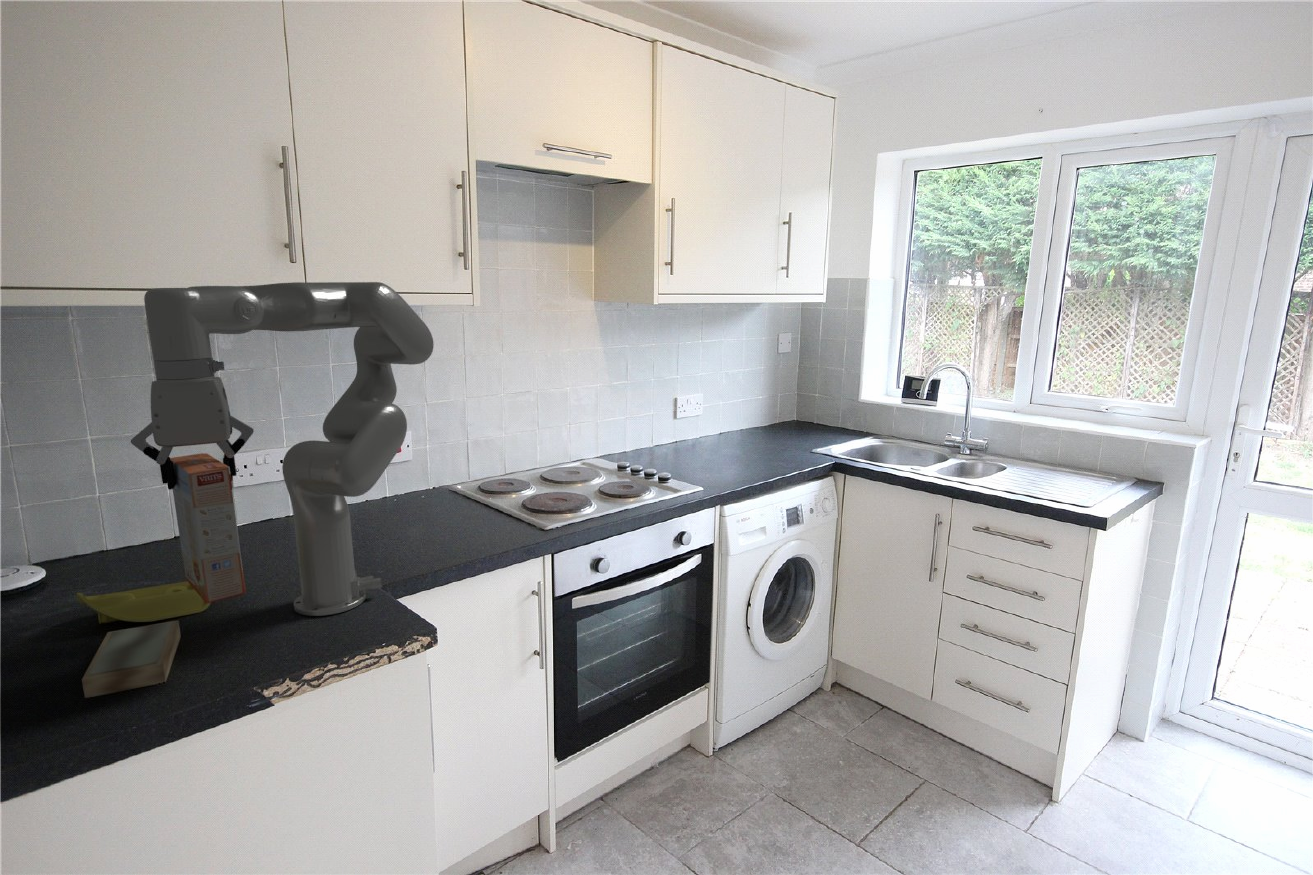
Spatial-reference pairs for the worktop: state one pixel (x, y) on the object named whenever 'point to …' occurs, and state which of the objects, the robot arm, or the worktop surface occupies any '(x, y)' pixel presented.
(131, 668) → the stand
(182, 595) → the plastic component
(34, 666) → the worktop surface
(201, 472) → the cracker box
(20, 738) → the worktop surface
